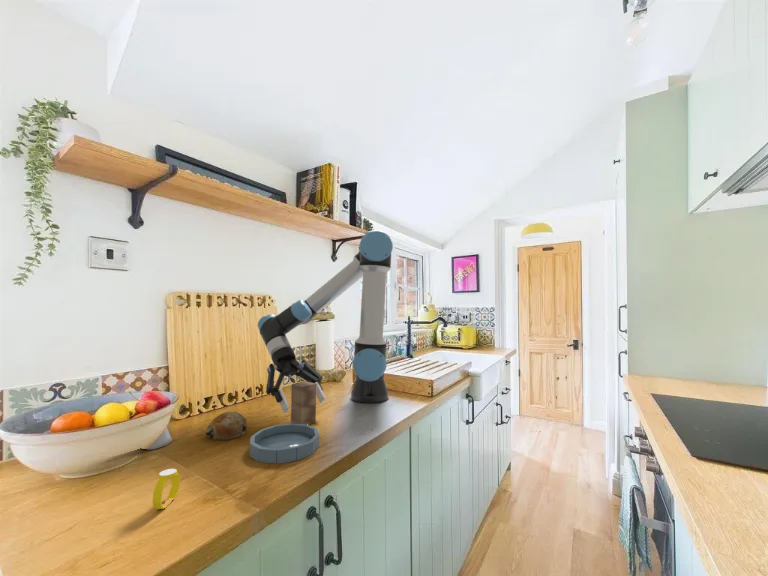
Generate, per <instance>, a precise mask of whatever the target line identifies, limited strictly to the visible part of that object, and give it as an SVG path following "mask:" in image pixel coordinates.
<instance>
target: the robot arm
mask: <svg viewBox="0 0 768 576" xmlns="http://www.w3.org/2000/svg"><path fill="white" fill-rule="evenodd" d="M393 245H394V244H393V241H392V239H391V237H390V235H388V234H387V232H384V231H382V230H378V229H374V230H370V231H368V232H366V233H365V234H364V235H363V236H362V237H361V239H360V241H359V251H358V252H357V253H356V254H355V255H354V256H353V259H352V261H351V262H349V263H348V264H347V265H346V266H345V267H343V269H341V270H340V271H339V272H337V273H336V274H335V275H333V277H332V278H330V279H328V281H327V282H326V283H324V284H323V285H321V286H320V287H319V288H318V289H317V290H316V291H314V292H312V294H311V295H309V296H308V297H307V298H306V299H304V300H302V299H299V300H297V301H296V302H294V303H292V304H291V305H289V306H288V307H286V309H284V310H282V311H281V312H280V313H279V314H277V315H275V314H272V313H270V314H267V315H264V316H262V317H261V318H260V319H259V320H258V322H257V327H258V328H257V329H258V331H259V334H260V336H261V338H262V340H263V342H264V345H265V346H266V350H267V351H268V354H269V356H270V359H271V360H272V363H269V365H268V366H267V369H266V370H267V383H266V389H265V393H266V394H267V395H270V394H271V396H273V397H274V399H275V401H276V403H278V404H279V405H280V407H281V410H282V412H283V413H284V414H285V413H287V412H288V410H290V409H291V406H290V404H289V403H288V402H289V401H288V399H287V398H286V396H285V393H284V391H283V389H281V385H282V382H283V380H284V378H285V377H290V376H296V377H300V378H301V379H302V380H305V381H308V382H311V383H315V384H316V398H317V400H318V401H319V404H322V403H323V402H325V400H326V397H327V396H326V395H325V393H324V392H323V391H324V389H323V386H322V385H321V381H322V380H323V376H322V375H321V374H320V373H319V372H318V371H316V370H315V369H314V368H313V367H312V366H311V365H310V364H308V361H307V360H306V359H304V358H303V359H302V360H301V361H298V360H297V357H296V354H295V352H294V350H293V348H292V345H291V343H290V342H289V339H288V338H287V334H288V333H289V332H291V331H292V330H294V329H295V328H296V327H298V326H301V325H306V324H309V323H310V322H311V321H312V320H313V319H314V317H316V316H317V315H318V314H319V313H321V312H322V311H323V310H324V309H325V308H327V306H329V305H331V303H332V302H333V301H335V300H336V299H337V298H339V297H340V296H341V295H342V294H343V293H345V292H346V291H347V290H348V289H349V288H350V287H352V286H353V285H354V284H355V283H357V282H358V281H359V280H360V279H361V278H362V285H361V286H362V287H361V305H360V321H359V323H360V324H359V335H358V338H356V340H354V350H353V351H354V353H353V360H352V369H353V372H354V373H355V380H354V383H353V386H352V390H351V391H350V399H351V400H352V401H354V402H357V403H364V404H376V403H381V402H386V401H387V400H388V399H389V391H388V388H387V384H386V380H385V372H386V370H387V365H388V364H387V341H386V340H385V339H384V320H385V306H386V305H385V304H386V303H385V301H386V285H387V284H386V282H387V273H388V272H389V271H391V268H392V266H391V265H392V252H393V250H394V249H393V248H394V247H393ZM275 371H276V372H277V373H279V374H278V377H277V380H276V382H275ZM274 382H275V385H274Z"/></svg>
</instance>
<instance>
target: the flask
mask: <svg viewBox="0 0 768 576" xmlns="http://www.w3.org/2000/svg"><path fill="white" fill-rule="evenodd" d="M172 441H173V439H172V436H171V434H170V431H169V429H168V427H166V429H165V430H164V432H163V433H162V435H161V436H160V437H159V438H158V439H157V440H156V441H155V442H154V443H153V444H152V445H151V446H150V447H149V448H148V449H147V450H156V449H159V448H162V447H165V446H168V445H169V444H170V443H171V442H172Z"/></svg>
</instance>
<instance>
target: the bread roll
mask: <svg viewBox="0 0 768 576" xmlns="http://www.w3.org/2000/svg"><path fill="white" fill-rule="evenodd" d="M247 425H248V423H247V420H246V418H245V416H244V414H242V413H239V412H237V411H226V412H222V413H220V414H219V415H216V417H214V418H213V419H212V421H211V422H209V423H208V425H207V427H206V428H207V429H206V430H205V436H207V437H208V438H209V439H210V440H214V441H225V440H233V439H236V437H237V438H238V437H241V436H244V435H245V434H246V430H247Z"/></svg>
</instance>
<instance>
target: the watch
mask: <svg viewBox="0 0 768 576" xmlns="http://www.w3.org/2000/svg"><path fill="white" fill-rule="evenodd" d="M168 479H171V486H170V490H169V493H168V496H167V498H168V499H169V498H175V499H176V497H177V495H178V492H179V488H180V483H181V480H180V479H181V476H180V474H179V472H178V471H177V468H168V469H164V470H162V471H160V472H159V473H158V481H157V482H156V485H155V487H154V490H153V494H152V505H153V508H154V509H156V510H157V509H164V508H165V507H164V506H163V505H162V503H163V501H162V497H163V491H164V488H165V485H166V483H167V481H168ZM167 498H166V499H167Z"/></svg>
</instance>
